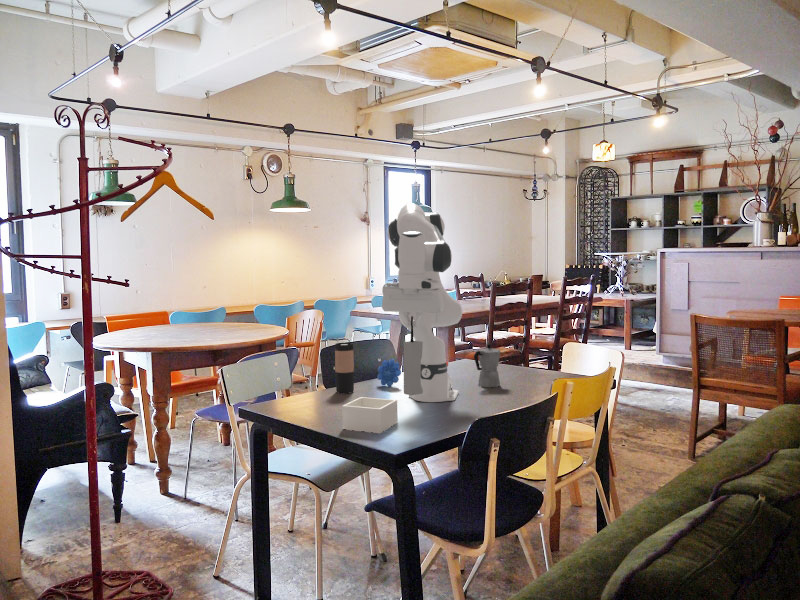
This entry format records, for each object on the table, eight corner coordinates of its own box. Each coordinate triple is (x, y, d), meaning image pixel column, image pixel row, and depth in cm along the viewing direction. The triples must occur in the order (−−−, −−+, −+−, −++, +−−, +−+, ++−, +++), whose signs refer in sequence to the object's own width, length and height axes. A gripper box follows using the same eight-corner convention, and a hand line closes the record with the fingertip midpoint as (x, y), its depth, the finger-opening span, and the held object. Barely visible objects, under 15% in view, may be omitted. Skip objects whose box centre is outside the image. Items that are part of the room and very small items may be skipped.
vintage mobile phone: (422, 393, 209) (423, 315, 207) (411, 395, 205) (411, 316, 204) (414, 391, 211) (414, 315, 210) (403, 394, 208) (403, 316, 206)
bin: (361, 419, 223) (360, 397, 223) (397, 423, 218) (397, 400, 217) (342, 429, 211) (342, 405, 210) (380, 433, 206) (380, 409, 205)
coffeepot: (491, 382, 285) (491, 341, 284) (507, 385, 278) (507, 343, 277) (466, 386, 276) (466, 344, 274) (482, 390, 268) (482, 347, 267)
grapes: (406, 385, 279) (405, 358, 278) (398, 388, 273) (397, 360, 273) (382, 383, 285) (382, 356, 284) (374, 386, 279) (374, 358, 278)
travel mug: (332, 393, 266) (331, 344, 265) (340, 389, 273) (339, 342, 272) (350, 394, 264) (349, 345, 262) (357, 390, 271) (356, 342, 270)
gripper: (378, 283, 207) (379, 326, 208) (439, 283, 199) (439, 328, 200) (386, 282, 213) (386, 323, 214) (445, 282, 205) (445, 326, 206)
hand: (412, 326), depth 207 cm, fingers closed on vintage mobile phone
